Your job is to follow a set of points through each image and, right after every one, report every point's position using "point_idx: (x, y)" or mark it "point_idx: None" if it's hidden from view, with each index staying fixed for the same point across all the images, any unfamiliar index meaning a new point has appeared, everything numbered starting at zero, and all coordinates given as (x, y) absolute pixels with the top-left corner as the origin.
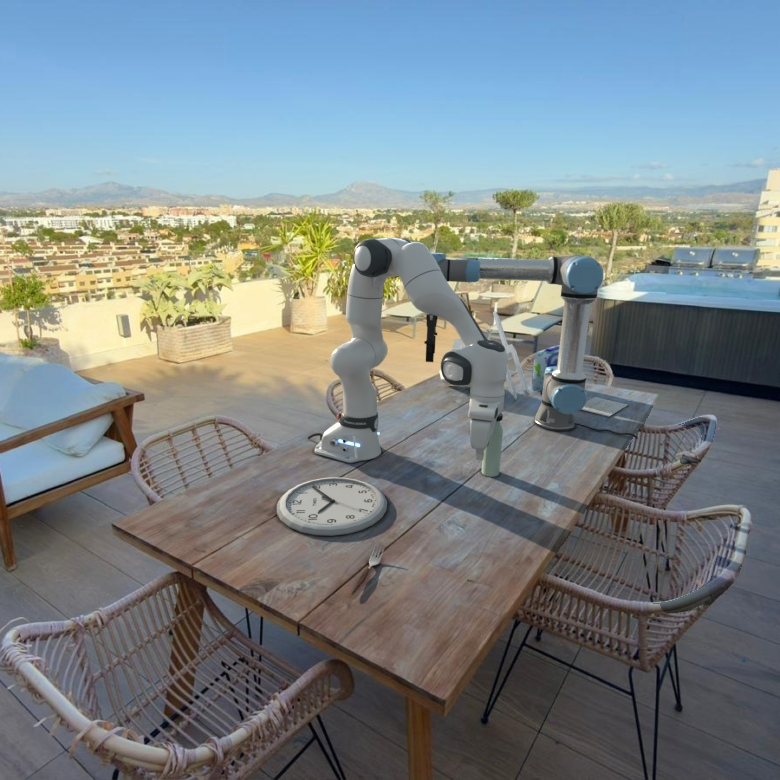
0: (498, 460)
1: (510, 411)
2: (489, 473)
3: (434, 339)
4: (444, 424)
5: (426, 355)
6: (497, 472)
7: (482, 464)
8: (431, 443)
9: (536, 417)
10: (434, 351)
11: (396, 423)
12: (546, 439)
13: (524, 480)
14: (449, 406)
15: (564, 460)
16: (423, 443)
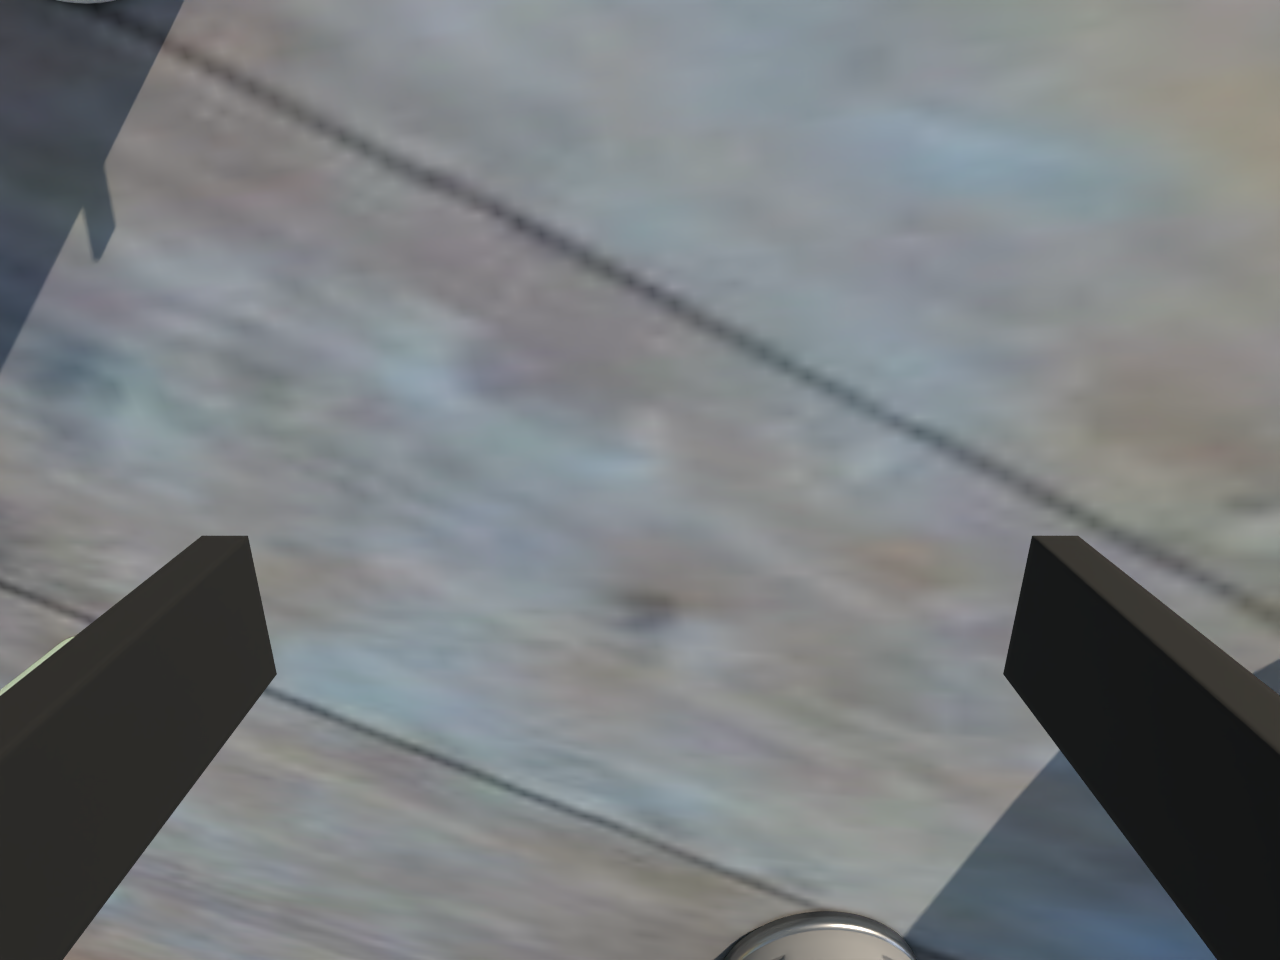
0: None
1: (1020, 821)
2: None
3: (1222, 937)
4: (752, 442)
5: (111, 624)
6: None
7: (38, 664)
8: (387, 366)
9: (819, 947)
10: (1025, 692)
11: (731, 58)
12: (598, 927)
13: None
14: (1142, 470)
15: (362, 955)
16: (372, 312)
